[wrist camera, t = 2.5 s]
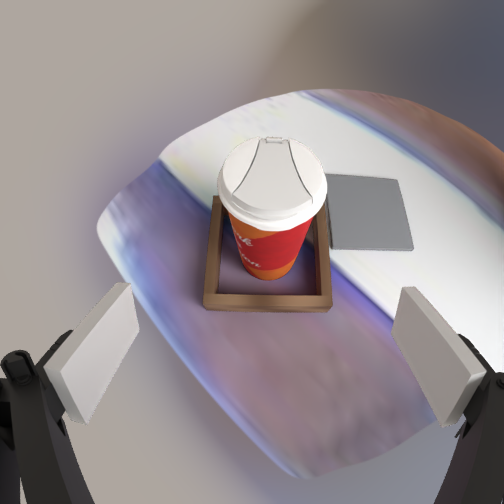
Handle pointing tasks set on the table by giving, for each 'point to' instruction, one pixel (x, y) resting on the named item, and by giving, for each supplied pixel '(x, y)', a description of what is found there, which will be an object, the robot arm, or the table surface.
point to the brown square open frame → (266, 301)
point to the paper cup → (271, 201)
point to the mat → (367, 214)
